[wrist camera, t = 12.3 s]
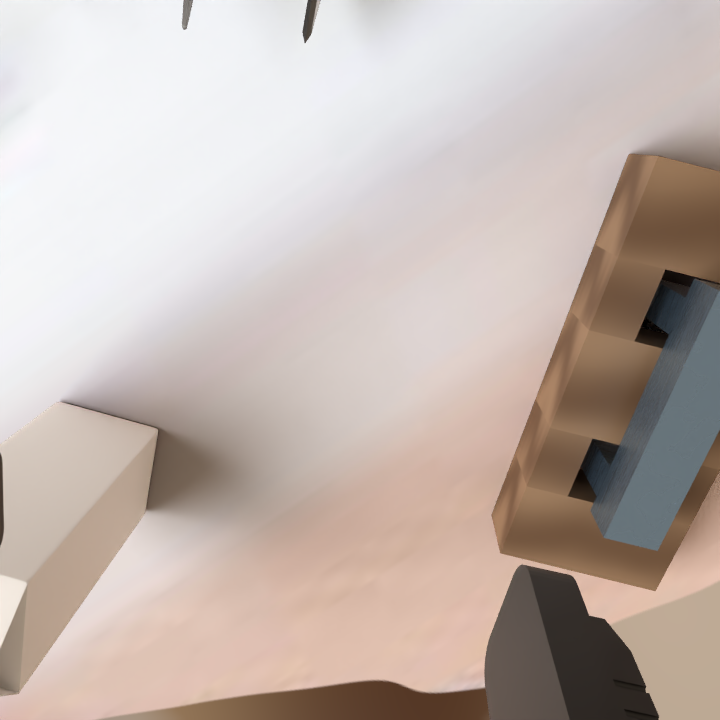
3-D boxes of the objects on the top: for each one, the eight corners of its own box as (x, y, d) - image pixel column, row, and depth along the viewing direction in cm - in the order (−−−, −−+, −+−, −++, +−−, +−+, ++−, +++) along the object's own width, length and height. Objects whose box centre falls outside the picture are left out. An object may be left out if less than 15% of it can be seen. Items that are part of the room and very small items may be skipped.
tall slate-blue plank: (654, 259, 34) (719, 290, 27) (704, 271, 34) (783, 306, 27) (568, 465, 39) (603, 537, 32) (612, 476, 39) (657, 550, 32)
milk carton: (58, 399, 40) (-223, 608, 22) (160, 427, 40) (-37, 656, 22) (50, 486, 42) (-207, 736, 25) (146, 512, 43) (-40, 778, 25)
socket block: (628, 153, 32) (658, 155, 28) (806, 199, 32) (859, 207, 28) (491, 514, 40) (500, 553, 37) (632, 549, 41) (655, 591, 37)
